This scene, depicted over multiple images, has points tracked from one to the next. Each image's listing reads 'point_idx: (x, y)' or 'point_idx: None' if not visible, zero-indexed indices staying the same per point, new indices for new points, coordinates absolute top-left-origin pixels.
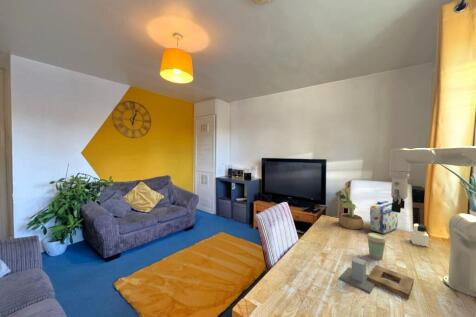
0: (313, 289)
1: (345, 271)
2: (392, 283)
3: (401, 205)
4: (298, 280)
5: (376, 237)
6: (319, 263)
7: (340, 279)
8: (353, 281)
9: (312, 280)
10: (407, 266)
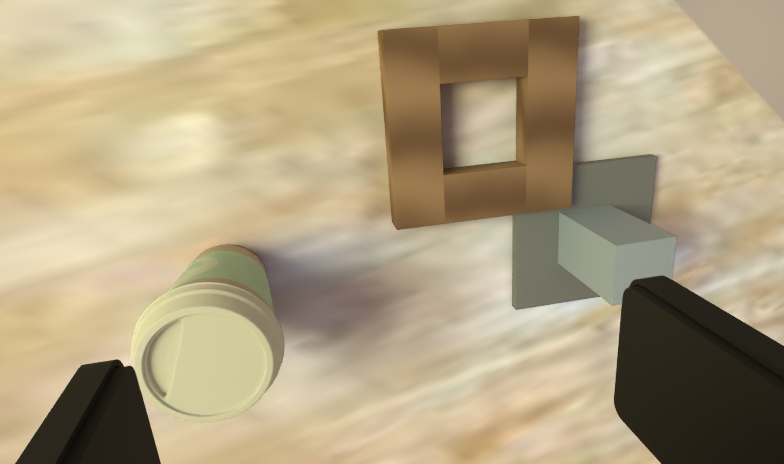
0: (775, 305)
1: (572, 297)
2: (536, 101)
3: (119, 460)
4: None
5: (244, 350)
6: (577, 403)
7: None
8: None
9: None
10: (169, 106)
